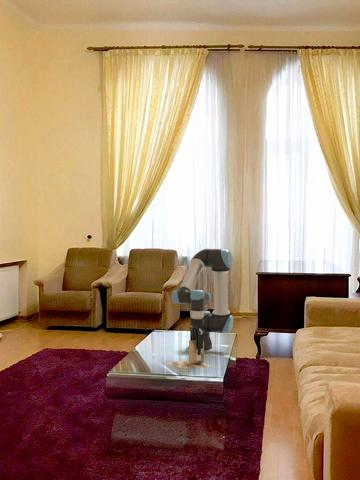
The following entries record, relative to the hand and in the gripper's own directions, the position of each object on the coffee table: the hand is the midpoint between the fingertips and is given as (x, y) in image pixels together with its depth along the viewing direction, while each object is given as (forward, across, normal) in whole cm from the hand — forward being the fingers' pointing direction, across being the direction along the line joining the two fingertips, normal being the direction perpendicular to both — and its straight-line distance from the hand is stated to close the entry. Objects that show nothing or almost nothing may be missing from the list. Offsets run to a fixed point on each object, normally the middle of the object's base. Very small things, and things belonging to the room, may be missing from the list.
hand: (196, 359), depth 305 cm
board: (+4, 0, -5) cm, 6 cm away
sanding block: (+2, 0, 0) cm, 2 cm away
